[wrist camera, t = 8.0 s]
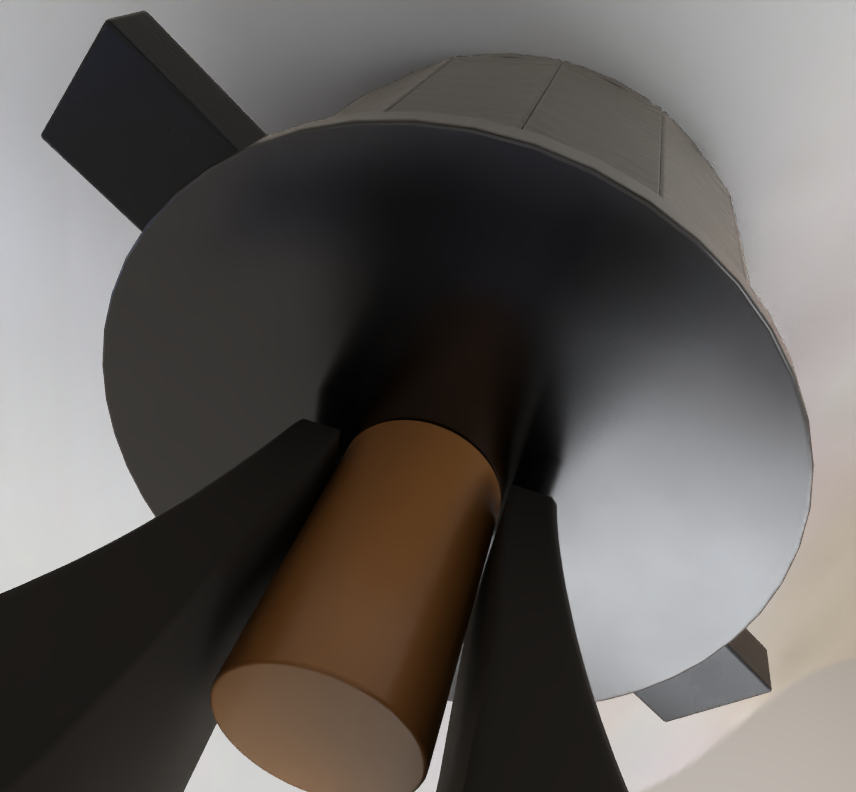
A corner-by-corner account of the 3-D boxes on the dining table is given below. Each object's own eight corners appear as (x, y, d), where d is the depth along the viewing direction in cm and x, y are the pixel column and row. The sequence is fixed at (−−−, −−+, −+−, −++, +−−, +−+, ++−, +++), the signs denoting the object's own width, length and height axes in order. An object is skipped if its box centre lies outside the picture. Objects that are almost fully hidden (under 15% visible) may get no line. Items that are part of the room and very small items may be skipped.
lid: (439, 716, 17) (360, 1001, 13) (42, 383, 14) (-232, 598, 10) (959, 525, 11) (1155, 952, 7) (434, -122, 8) (167, -131, 4)
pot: (551, 584, 22) (515, 794, 17) (132, 185, 18) (-77, 301, 13) (914, 419, 16) (1025, 661, 11) (413, -213, 13) (236, -283, 7)
